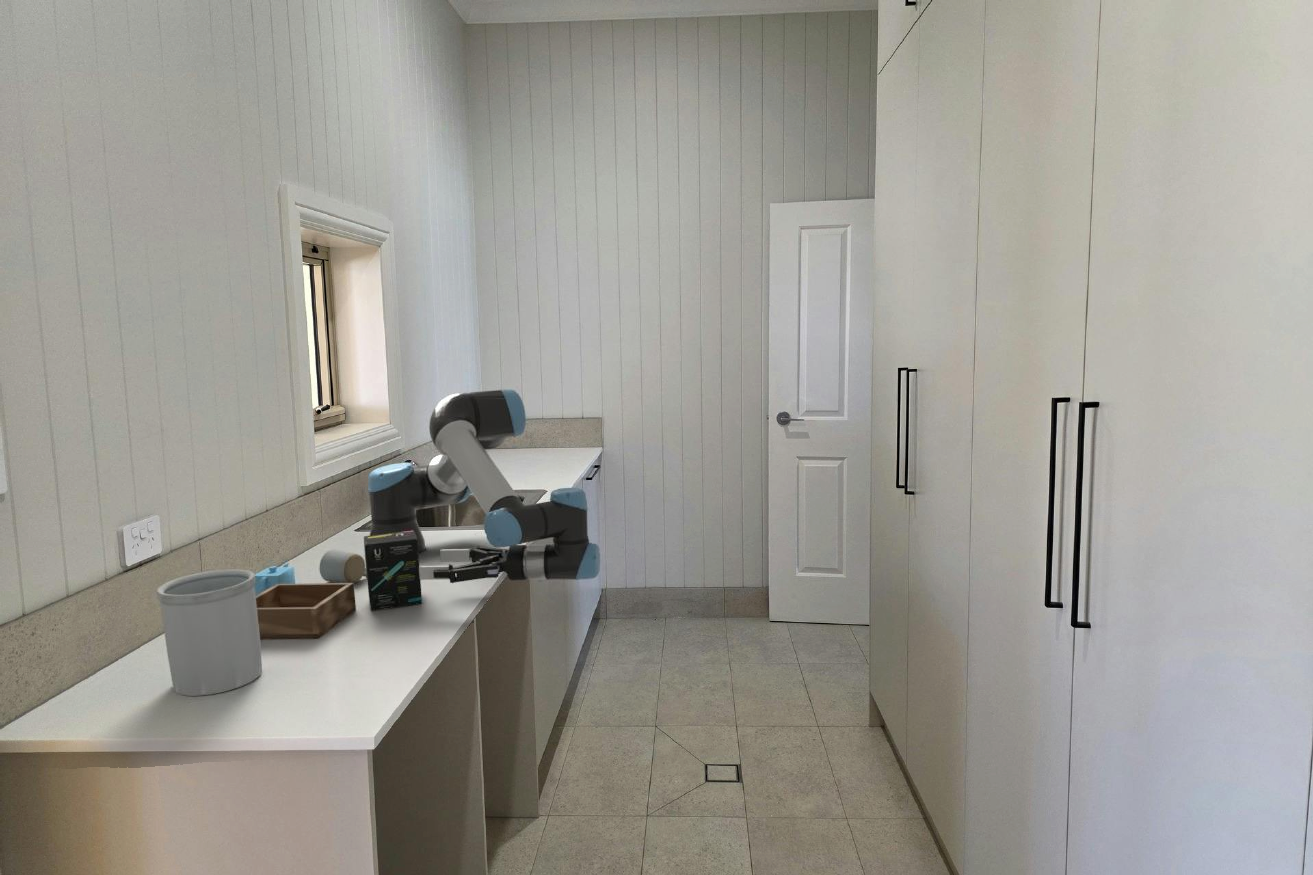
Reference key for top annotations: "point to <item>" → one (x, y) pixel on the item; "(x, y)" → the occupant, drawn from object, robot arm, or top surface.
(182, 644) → the utensil holder
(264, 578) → the teapot
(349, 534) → the top surface
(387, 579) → the tampon box
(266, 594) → the box
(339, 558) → the ceramic mug
